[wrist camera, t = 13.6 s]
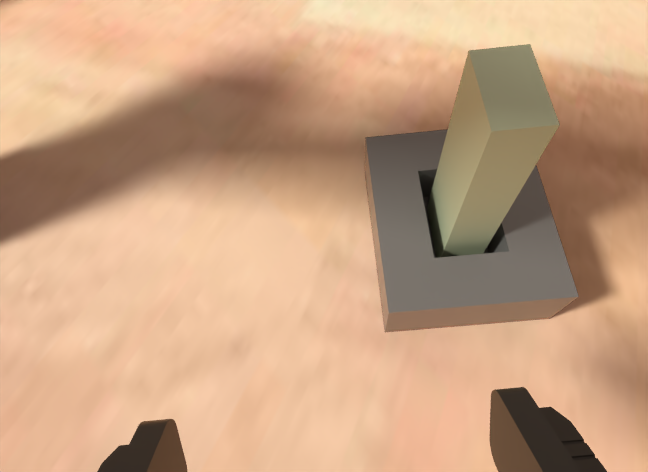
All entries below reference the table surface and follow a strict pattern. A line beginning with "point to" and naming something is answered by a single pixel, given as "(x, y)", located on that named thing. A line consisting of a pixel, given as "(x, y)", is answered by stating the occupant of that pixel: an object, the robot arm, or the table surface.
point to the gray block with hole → (457, 271)
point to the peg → (489, 147)
